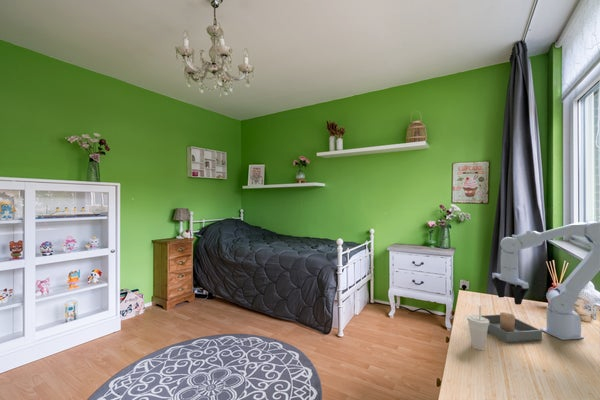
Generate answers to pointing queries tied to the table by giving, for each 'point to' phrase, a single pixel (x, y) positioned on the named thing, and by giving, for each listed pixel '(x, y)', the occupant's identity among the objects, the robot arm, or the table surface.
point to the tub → (521, 333)
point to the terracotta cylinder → (507, 322)
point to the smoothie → (478, 330)
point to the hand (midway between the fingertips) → (509, 300)
